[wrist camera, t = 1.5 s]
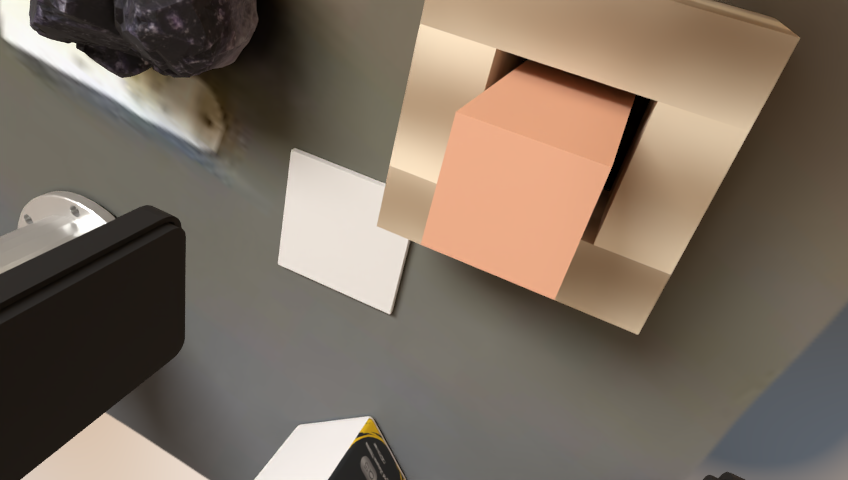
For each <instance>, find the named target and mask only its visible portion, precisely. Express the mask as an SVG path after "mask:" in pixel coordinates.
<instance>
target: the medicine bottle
mask: <svg viewBox="0 0 848 480" xmlns="http://www.w3.org/2000/svg"><path fill="white" fill-rule="evenodd" d="M254 480H406V478H405V476H404V474H403V473H402V471H401V469H400V467H399V465H398V463H397V461H396V460H395V458H394V456H393V454H392V452H391V450H390V448H389V447H388V445H387V443H386V441H385V439H384V437H383V435H382V434H381V432H380V430H379V428H378V426H377V424H376V422H375V420H374V419H373V417H370V416H366V417H358V418H350V419H342V420H333V421H325V422H317V423H309V424H301V425H299V426H297V427H296V429H295V430H294V431H293V432H292V434H291V435H290V436H289V437H288V439H287V440H286V441H285V442H284V444H283V445H282V446H281V447H280V448H279V450H278V451H277V452H276V453H275V455H274V456H273V457H272V458H271V460H270V461H269V462H268V463H267V465H266V466H265V467H264V468H263V470H262V471H261V472H260V473H259V475H258V476H257V477H256V478H255V479H254Z"/></svg>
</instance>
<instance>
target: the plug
mask: <svg viewBox="0 0 848 480" xmlns="http://www.w3.org/2000/svg"><path fill="white" fill-rule="evenodd" d="M635 95H636V94H634V93H631V92H628V91H625V90H622V89H618V88H615V87H612V86H609V85H606V84H603V83H600V82H597V81H594V80H591V79H588V78H585V77H582V76H579V75H576V74H573V73H570V72H566V71H563V70H560V69H557V68H554V67H551V66H548V65H545V64H542V63H539V62H536V61H533V60H530V59H528V60H527V61H525V62H524V63H523V64H521V65H520V66H518V67H517V68H516V69H514V70H513V71H511V72H510V73H509V74H507V75H506V76H505V77H503V78H502V79H500V80H499V81H498V82H496V83H495V84H494V85H492V86H491V87H489V88H488V89H487V90H485V91H484V92H482V93H481V94H480V95H478V96H477V97H476V98H474V99H473V100H471V101H470V102H469V103H467V104H466V105H464V106H463V107H462V108H460V109H459V110H458V111H456V113H455V117H454V121H453V124H452V128H451V132H450V136H449V140H448V143H447V147H446V151H445V155H444V158H443V162H442V166H441V170H440V173H439V177H438V181H437V185H436V188H435V192H434V196H433V200H432V204H431V207H430V211H429V215H428V219H427V222H426V226H425V230H424V234H423V237H422V241H421V245H423V246H426V247H428V248H430V249H433V250H435V251H438V252H440V253H443V254H445V255H447V256H450V257H452V258H455V259H457V260H459V261H462V262H464V263H467V264H469V265H471V266H474V267H476V268H479V269H481V270H483V271H486V272H488V273H491V274H493V275H495V276H498V277H500V278H503V279H505V280H507V281H510V282H512V283H515V284H517V285H520V286H522V287H524V288H527V289H529V290H532V291H534V292H536V293H539V294H541V295H544V296H546V297H548V298H551V299H553V300H555V298H556V296H557V293H558V291H559V289H560V286H561V284H562V282H563V279H564V277H565V275H566V272H567V270H568V268H569V266H570V263H571V261H572V259H573V256H574V254H575V252H576V249H577V247H578V245H579V242H580V240H581V238H582V235H583V233H584V231H585V228H586V226H587V224H588V222H589V219H590V217H591V215H592V212H593V210H594V208H595V205H596V203H597V201H598V198H599V196H600V194H601V191H602V189H603V187H604V184H605V182H606V180H607V178H608V175H609V173H610V171H611V168H612V165H613V162H614V159H615V156H616V153H617V150H618V147H619V144H620V141H621V138H622V135H623V132H624V129H625V126H626V123H627V120H628V116H629V113H630V110H631V107H632V104H633V101H634V98H635Z"/></svg>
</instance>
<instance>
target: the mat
mask: <svg viewBox="0 0 848 480" xmlns="http://www.w3.org/2000/svg"><path fill="white" fill-rule="evenodd" d="M385 185H386V184H385V183H382V182H380V181H377V180H375V179H372V178H370V177H367V176H364V175H362V174H359V173H357V172H354V171H352V170H349V169H347V168H344V167H342V166H339V165H337V164H334V163H332V162H329V161H327V160H324V159H322V158H319V157H317V156H314V155H312V154H309V153H307V152H304V151H301V150H299V149H296V148H294V149H292V150H291V157H290V165H289V174H288V182H287V191H286V199H285V208H284V216H283V225H282V233H281V242H280V250H279V259H278V264H279V265H281V266H283V267H285V268H287V269H290V270H292V271H294V272H296V273H299V274H301V275H303V276H305V277H307V278H310V279H312V280H314V281H316V282H319V283H321V284H323V285H325V286H328V287H330V288H332V289H334V290H336V291H339V292H341V293H343V294H345V295H348V296H350V297H352V298H354V299H356V300H359V301H361V302H363V303H365V304H368V305H370V306H372V307H374V308H377V309H379V310H381V311H383V312H385V313H388V314H391V312H392V311H393V307H394V304H395V300H396V296H397V292H398V288H399V284H400V280H401V276H402V272H403V268H404V264H405V260H406V256H407V252H408V248H409V244H410V240H409V239H406V238H404V237H401V236H399V235H397V234H394V233H392V232H389V231H387V230H385V229H382V228H380V227H377V222H378V217H379V213H380V208H381V203H382V199H383V194H384V190H385Z"/></svg>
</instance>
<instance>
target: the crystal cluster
mask: <svg viewBox="0 0 848 480" xmlns="http://www.w3.org/2000/svg"><path fill="white" fill-rule="evenodd" d="M29 16H30V26H31V27H32V28H33V29H34V30H35V31H37V32H38V34H39V35H42V36H44V37H47V38H49V39H52V40H56V41H60V42H65V43H71V42H74V43H76V48H77V49H79V50H81V51H82V52H84V53H86V54H87V55H88V56H89V57H90V58H91V59H93V60H94V61H95V62H97V63H98V64H100V65H101V66H103V67H104V68H106V69H107V70H108V71H110V72H112V73H114V74H116V75H117V76H119V77H121V78H124V77H131V76H134V75H138V74H140V73H142V72H144V71H146V70H148V69H149V68H151V67H153V70H155V71H157V72H158V73H160V74H162V75H170V76H172V77H174V78H176V77H191V76H194V75H199V74H201V73H202V72H205V71H208V70H211V69H215V68H222V67H225V66H227V65H230V64H232V63H233V62H235V60H236V59H237V57H238V56H239V54H240V53H241V51H242V50H243V49H244V47H245V46H246V45H247V44H248V43H249V41H250V39H251V37H252V35H253V32H255V28H256V26H257V23H258V15H257V8H256V0H30V11H29Z"/></svg>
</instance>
